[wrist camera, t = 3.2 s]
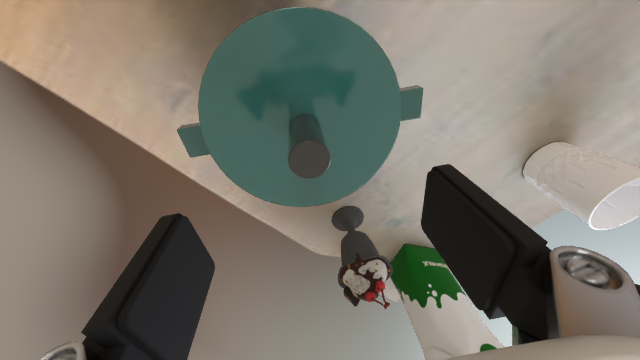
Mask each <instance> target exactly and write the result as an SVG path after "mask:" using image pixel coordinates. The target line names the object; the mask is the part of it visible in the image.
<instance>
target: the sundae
mask: <svg viewBox="0 0 640 360" xmlns="http://www.w3.org/2000/svg"><path fill="white" fill-rule="evenodd" d="M363 218H364V216H363V212H362V211H361V210H360V209H359V208H356V207H344V208H341V209H340V210H338V211H337V212H336V213H335V214H334V215H333V218H332V223H333V225H334V227H335V228H337V229H338V230H341V231H348V234H347V235H346V236H345V237H344V238H343V239H342V242H341V258H342V267H341V268H340V270H339V274H338V282H339V285H340V286H341V287H342V288H344V296H345V297H346V298H347V299H348V300H349V301H350V302H351V303H352V304H353V305H354V306H357V305H358V303H359V301H360V300H364V301H368V302H372V301H375V302H377V303H380V302H378V301H377V300H375V299H376V298H377V297H378V296H379V294H380V292H382V297H383V300H384V302H385V299H384V293H383V290H384V289H385V284H384V282H385V281H386V280H387V279H388V278H389V277H390V276H391V275H392V273H393V268H392V265H391V264H390V262H389V261H388V260H387V259H386V258H385V257H383V256H381V255H379V253H378V251H377V250H376V248H375V246H374V244H373V243H372V241H371V240H370V239H369V237H368V236H367V235H366V234H365V233H363V232H359V231H355V228H357V227H358V226H359V225H360V224H361V223H362V221H363ZM380 304H381V305H383V304H382V303H380ZM389 305H390V303H388V302H385V305H383V306H384V308H385V309H386V308H387V307H388V306H389Z"/></svg>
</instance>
